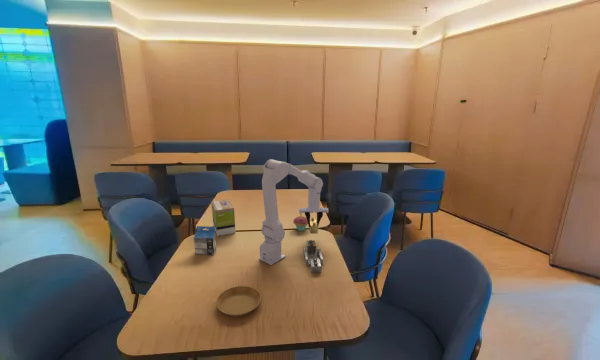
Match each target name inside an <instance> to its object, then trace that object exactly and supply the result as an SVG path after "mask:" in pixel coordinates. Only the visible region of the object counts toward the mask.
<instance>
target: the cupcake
mask: <svg viewBox="0 0 600 360" xmlns="http://www.w3.org/2000/svg"><path fill="white" fill-rule="evenodd" d="M302 214H303V213H299V215H300V216H297V217H294V218H293V220H292V222H293V224H294V225H295V228H296V230H297V231H300V232H302V231H306V228H307V227H308V221H307V218H306V216H302Z"/></svg>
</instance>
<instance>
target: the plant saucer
mask: <svg viewBox="0 0 600 360" xmlns="http://www.w3.org/2000/svg"><path fill="white" fill-rule="evenodd" d="M261 299H262V297H261V294H260V292H259V291H258V290H257V289H256V288H254V287H251V286H246V285H238V286H233V287H230V288H228V289H226V290H224V291H222V292H221V293H220V294H219V296H218V297H217V298H216V302H215V304H216V307H217V309H218V310H219V312H221V313H223V314H224V315H226V316H230V317H243V316H245V315H247V314H249V313H252V312H253V311H254V310H256V308H257V307H258V306H259V304H260V303H261Z"/></svg>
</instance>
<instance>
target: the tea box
mask: <svg viewBox="0 0 600 360" xmlns="http://www.w3.org/2000/svg"><path fill="white" fill-rule="evenodd" d="M210 204H211V213H212V224H213V226H212V227H215V235H216V236H217V237H219V235H221V236H224V235H225V236H226V234H227V235H232V234H236V221H235V220H236V218H235V217H236V216H235V207H234V206H233V204H232V203H231V201H230V200H229V199H224V200H217V201H211V203H210Z"/></svg>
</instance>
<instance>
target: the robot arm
mask: <svg viewBox="0 0 600 360" xmlns="http://www.w3.org/2000/svg"><path fill="white" fill-rule="evenodd" d="M262 168H263V173H262V179H261V187H262V189H261V190H262V196H263V197H262V198H263V206H264V215H265V219H264V220H263V221H262V226H261V234H262V235H263V237H264V241H263V242H262V243H260V246H259V258H258V260H260V261H262V262H264V263H266V264H268V265H270V266H272V265H274V264H277V262H279V261H281V260H283V259H284V258H286V257H287V255H285V254H282V242H283V239H284V238H285V235H286V232H285V229H284V225H283V223H282V222H281V220H280V219H279V210H278V200H277V197H278V196H277V187H276V185H277V184H278V183H281V181H282V180H283V179H284V178H286V177H287V176H288V175H292V176H294V177H296V178H297V180H298V182H300V183H302V184H303V185H306V186H305V187H307V188H308V194H307V196H308V199H307V200H308V201H307V202H308V203H307V207H302V208H301V207H300V208H298V213H299V214H300V213H302V214H304V217H305V218H307V221H308V224H307V227H308V228H309V227H310V219H311V214H313V213H316V221H317V224H318V227H319V226H320V222H321V220H322V219H323V216H324V214H323V213H326V214H329V207H321V206H320V205H321V201H320V200H321V192H322V188H323V186H324V182H323V180H322V178H321V177H318V176H316V175H315V174H314V173H311V172H310V170H307V169H305V170H300V169H299V168H297V167H295V165H292V164H291V163H288V162H286V161H280V160H275V159H273V158H271V159H270V158H269V159H268V160H266V162H265V163H264V165H263V167H262Z"/></svg>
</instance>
